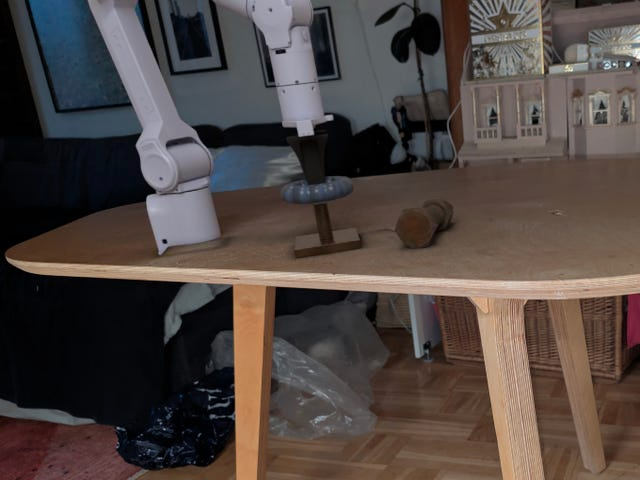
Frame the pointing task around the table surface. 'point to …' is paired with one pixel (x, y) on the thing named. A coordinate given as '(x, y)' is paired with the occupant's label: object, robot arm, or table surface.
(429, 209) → the bolt
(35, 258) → the table surface
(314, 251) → the stand
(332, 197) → the ring
